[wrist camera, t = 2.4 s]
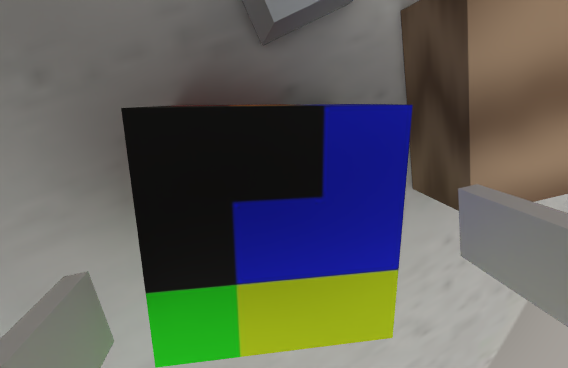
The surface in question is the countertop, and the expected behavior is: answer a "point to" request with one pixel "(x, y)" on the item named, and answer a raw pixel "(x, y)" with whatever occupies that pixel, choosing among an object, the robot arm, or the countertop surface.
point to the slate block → (286, 15)
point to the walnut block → (487, 96)
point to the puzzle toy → (267, 224)
